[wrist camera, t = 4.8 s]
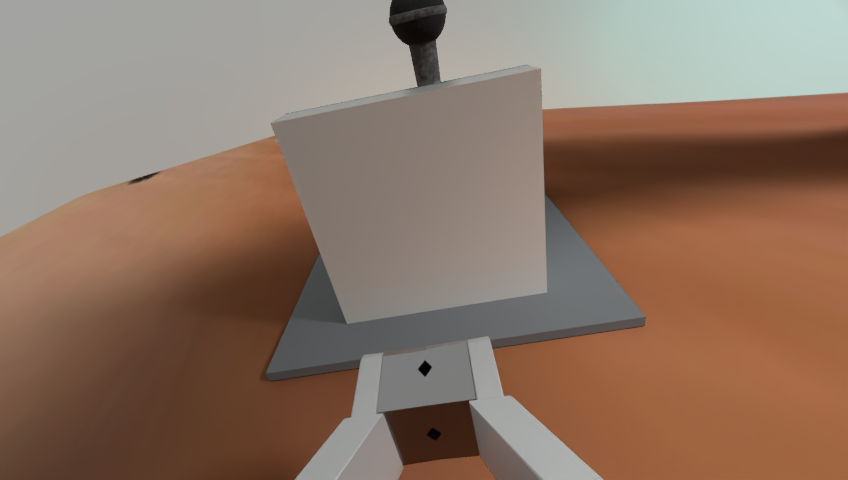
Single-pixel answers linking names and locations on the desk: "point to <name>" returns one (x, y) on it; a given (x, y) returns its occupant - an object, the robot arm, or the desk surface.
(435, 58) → the microphone
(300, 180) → the tile
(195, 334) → the desk surface
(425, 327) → the mat
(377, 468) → the robot arm
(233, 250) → the desk surface
